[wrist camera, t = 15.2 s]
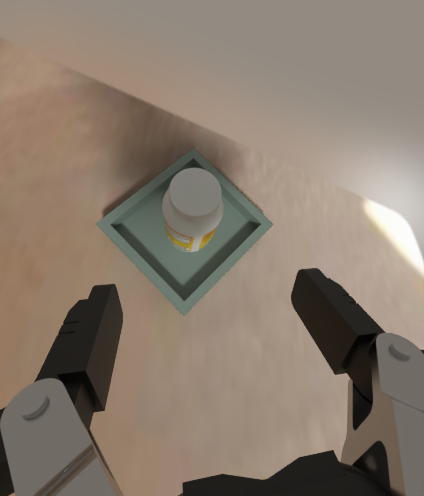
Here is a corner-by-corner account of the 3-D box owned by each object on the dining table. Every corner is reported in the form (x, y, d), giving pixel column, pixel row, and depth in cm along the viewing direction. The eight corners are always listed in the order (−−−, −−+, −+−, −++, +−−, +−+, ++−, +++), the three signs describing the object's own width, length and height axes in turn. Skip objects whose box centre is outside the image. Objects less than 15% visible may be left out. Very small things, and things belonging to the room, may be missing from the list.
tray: (183, 314, 25) (184, 316, 22) (103, 231, 26) (95, 223, 23) (265, 230, 28) (273, 224, 26) (192, 160, 29) (193, 147, 27)
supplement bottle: (170, 256, 25) (163, 230, 16) (162, 211, 26) (153, 162, 17) (217, 248, 26) (237, 219, 17) (208, 205, 27) (222, 156, 18)
